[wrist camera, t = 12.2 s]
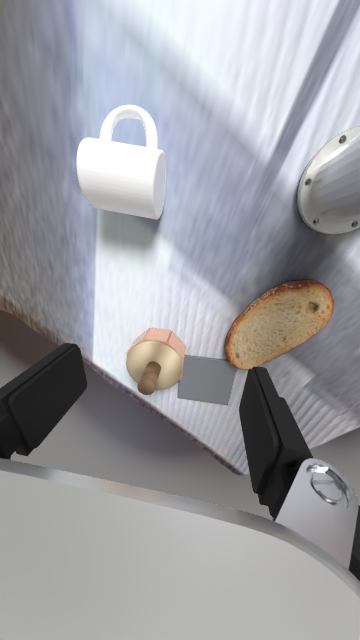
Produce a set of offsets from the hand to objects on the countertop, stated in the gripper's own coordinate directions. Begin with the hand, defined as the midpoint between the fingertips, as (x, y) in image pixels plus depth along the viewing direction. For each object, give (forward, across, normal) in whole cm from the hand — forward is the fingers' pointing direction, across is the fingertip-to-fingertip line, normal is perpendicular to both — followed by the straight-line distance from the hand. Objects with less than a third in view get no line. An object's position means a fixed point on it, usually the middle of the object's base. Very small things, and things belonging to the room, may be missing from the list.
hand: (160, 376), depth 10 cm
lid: (+21, +6, +16) cm, 27 cm away
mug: (+27, +10, -16) cm, 33 cm away
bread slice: (+27, -16, +8) cm, 32 cm away
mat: (+26, -4, +22) cm, 35 cm away
